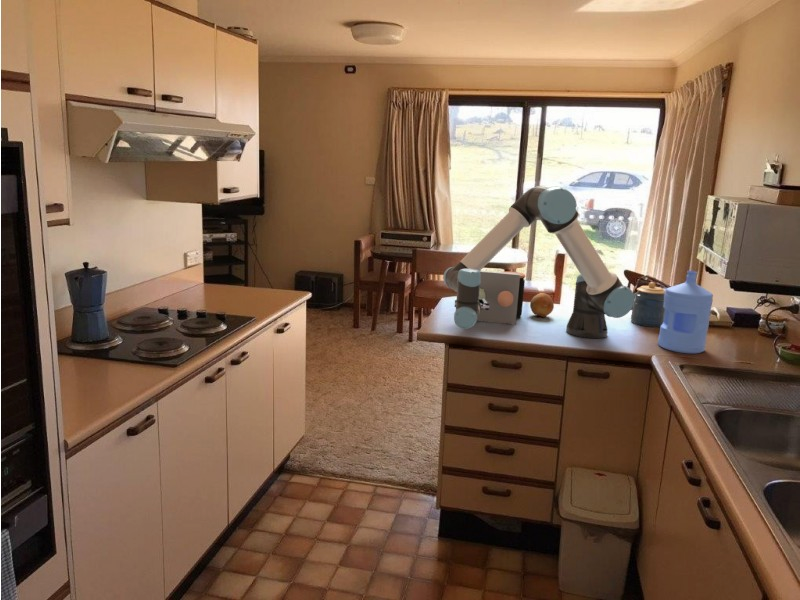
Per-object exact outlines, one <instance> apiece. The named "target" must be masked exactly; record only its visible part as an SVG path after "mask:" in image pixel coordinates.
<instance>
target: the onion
mask: <svg viewBox="0 0 800 600" xmlns="http://www.w3.org/2000/svg"><path fill="white" fill-rule="evenodd" d="M554 305H555V304H554V301H553V299H552V297H551V296H550V295H549V294H547V293H545V292H540V293H537V294H536V295H534V296H533V297H532V299H531V300H530V303H529V306H530V307H529V308H530V310H531V312H532V314H533V315H535V316H539V317H541V318H545V317H547V316H549V315H550V314H551V313H552V312H553V311H554V308H555V306H554Z"/></svg>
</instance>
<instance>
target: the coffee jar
mask: <svg viewBox="0 0 800 600" xmlns="http://www.w3.org/2000/svg"><path fill="white" fill-rule="evenodd" d="M504 272H505V273H517V274H520V281H519V292H518V303H517V314H516V319H519V318H520V317H521V316H522V313H523V303H524V292H525V285H526V282H525V281H526V280H525V277H526V274H525V273H522V272H519V271H517V272H516V271H504Z"/></svg>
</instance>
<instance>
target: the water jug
mask: <svg viewBox="0 0 800 600" xmlns="http://www.w3.org/2000/svg"><path fill="white" fill-rule="evenodd" d="M686 273H687V275H685V276H686V280H685V281H684V282H683V283H680V284H676V285H673V286H670V287H669V286H668V287H667V288H666V289H665V291H666V292H665V295H664V305H663V307H664V308H665V315H664V322H663V324H662V325H661V326H660V328H659V334H658V338H657V344H658V346H659V347H661V348H662V349H664V350H668V351H671V352H674V353H682V354H700V353H701V354H702V352H704V351H705V350H706V340H707V335H708V330H709V327H710V326H709V325H710V315H711V309H712V305H713V297H714V295H713V293H712V292H711V291H709V290H708V289H705V288H703V286H701V285H699V284H697V274H698V272H697V271H695V270H687V271H686Z"/></svg>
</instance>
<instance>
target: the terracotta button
mask: <svg viewBox="0 0 800 600" xmlns="http://www.w3.org/2000/svg"><path fill="white" fill-rule="evenodd" d="M498 303H499V304H500V305H501V306H503V307H508V306H510V305H511V304H512V303H513V295H512V293H511V292H509V291H502V292H501V293H500V294H499V295H498Z"/></svg>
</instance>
